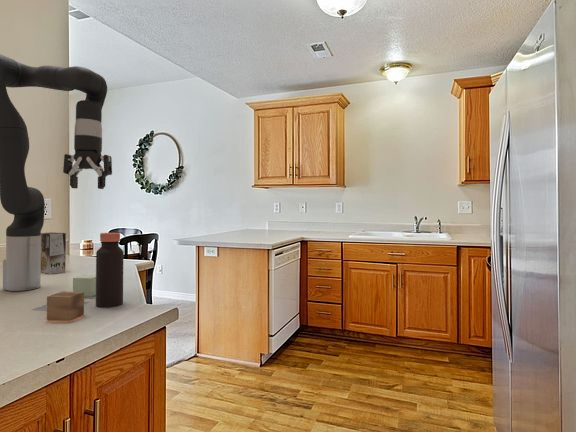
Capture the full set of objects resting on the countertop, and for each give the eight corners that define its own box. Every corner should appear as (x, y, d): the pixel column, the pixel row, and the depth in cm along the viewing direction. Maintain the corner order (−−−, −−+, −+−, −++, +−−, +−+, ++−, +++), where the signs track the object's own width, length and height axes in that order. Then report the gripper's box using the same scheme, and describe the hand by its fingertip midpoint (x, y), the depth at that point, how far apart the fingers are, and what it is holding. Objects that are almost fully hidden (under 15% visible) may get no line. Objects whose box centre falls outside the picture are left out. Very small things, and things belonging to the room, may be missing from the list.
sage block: (72, 296, 110) (72, 277, 110) (84, 292, 115) (84, 274, 115) (90, 297, 110) (90, 278, 109) (101, 292, 115) (101, 275, 115)
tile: (29, 311, 95) (29, 310, 95) (56, 302, 105) (56, 300, 105) (67, 313, 94) (67, 311, 94) (90, 303, 104) (90, 301, 104)
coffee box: (66, 272, 152) (66, 232, 152) (49, 274, 147) (49, 233, 146) (55, 269, 157) (55, 231, 157) (38, 271, 151) (38, 232, 151)
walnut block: (62, 313, 92) (62, 291, 92) (83, 314, 92) (84, 292, 91) (46, 320, 86) (46, 296, 86) (69, 320, 86) (69, 297, 86)
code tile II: (60, 299, 108) (60, 297, 108) (81, 291, 118) (81, 290, 118) (93, 300, 107) (93, 299, 107) (112, 292, 117) (112, 291, 117)
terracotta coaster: (37, 323, 85) (37, 321, 85) (60, 314, 93) (60, 311, 93) (70, 325, 85) (70, 322, 85) (91, 315, 93) (91, 312, 93)
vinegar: (90, 306, 101) (91, 233, 101) (114, 301, 106) (115, 232, 106) (103, 310, 97) (104, 234, 97) (128, 305, 103) (128, 233, 102)
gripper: (117, 138, 117) (116, 189, 118) (74, 138, 118) (73, 188, 119) (103, 133, 110) (102, 188, 110) (58, 133, 111) (57, 187, 111)
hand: (87, 188), depth 115 cm, fingers open, 8 cm apart
